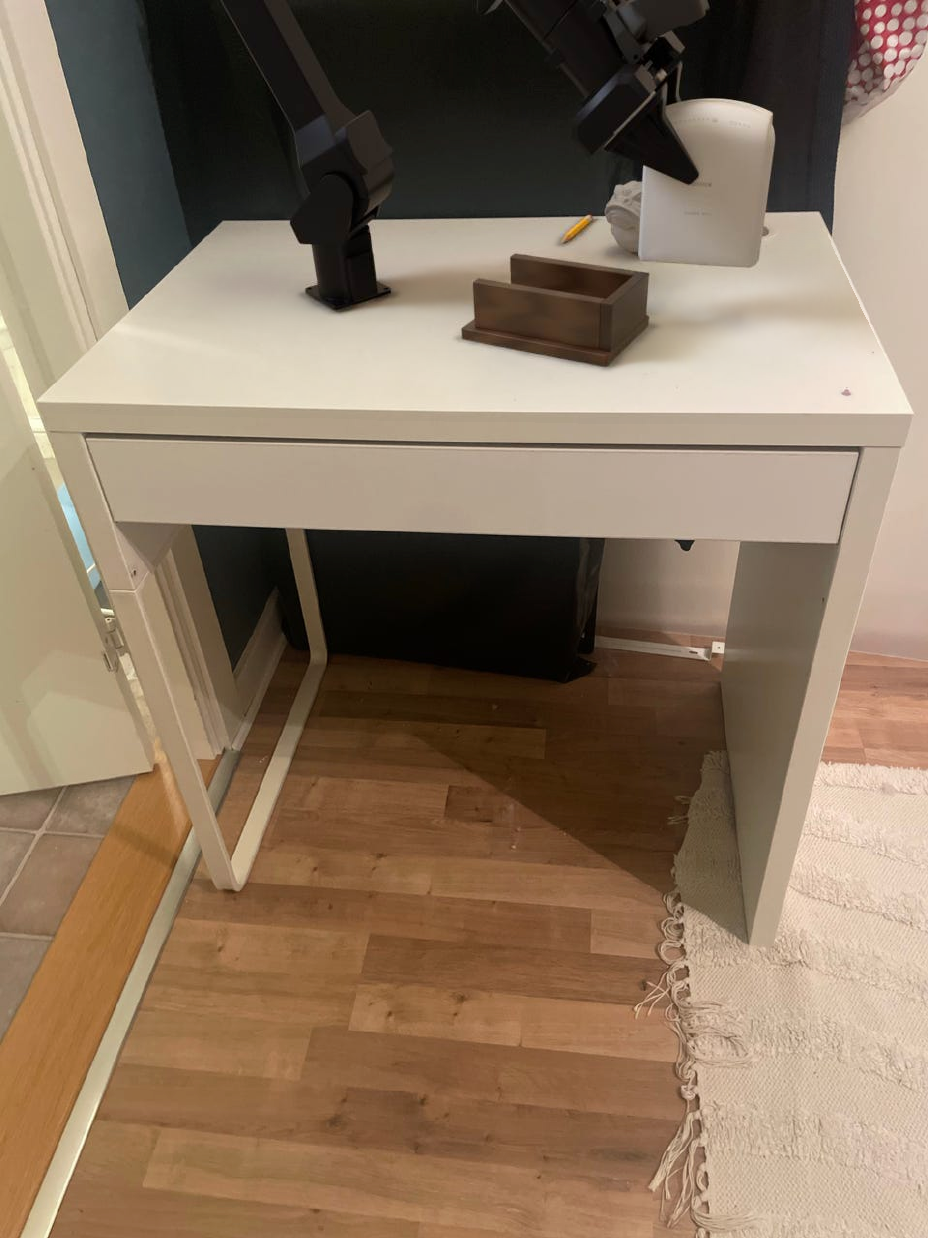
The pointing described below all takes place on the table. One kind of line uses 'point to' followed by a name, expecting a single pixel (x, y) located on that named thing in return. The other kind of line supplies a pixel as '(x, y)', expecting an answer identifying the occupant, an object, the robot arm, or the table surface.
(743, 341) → the table surface
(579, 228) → the pencil
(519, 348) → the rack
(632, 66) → the robot arm
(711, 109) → the photo printer
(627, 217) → the frog figurine
